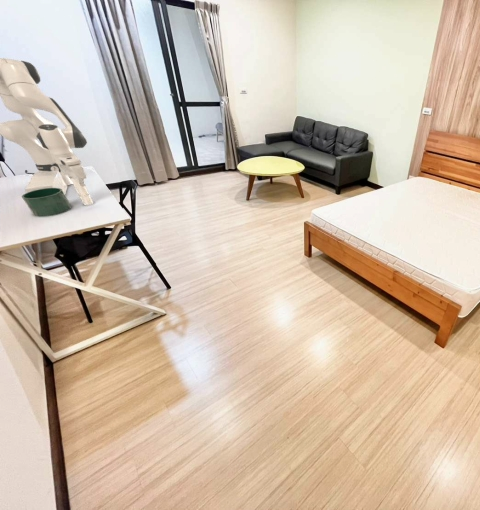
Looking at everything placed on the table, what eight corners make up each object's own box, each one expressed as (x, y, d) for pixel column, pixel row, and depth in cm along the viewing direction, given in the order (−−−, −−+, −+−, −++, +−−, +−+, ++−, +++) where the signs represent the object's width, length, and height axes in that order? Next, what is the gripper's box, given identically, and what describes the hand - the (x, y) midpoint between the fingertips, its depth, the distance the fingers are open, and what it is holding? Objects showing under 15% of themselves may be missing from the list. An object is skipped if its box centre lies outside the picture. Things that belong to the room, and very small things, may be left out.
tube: (88, 205, 153) (74, 179, 144) (82, 204, 153) (68, 179, 145) (95, 202, 156) (82, 177, 148) (89, 201, 157) (76, 176, 148)
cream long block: (45, 189, 169) (35, 172, 163) (67, 186, 174) (58, 170, 168) (37, 207, 148) (24, 189, 142) (62, 203, 153) (51, 185, 147)
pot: (28, 211, 144) (16, 194, 138) (64, 202, 155) (54, 185, 149) (40, 219, 138) (28, 201, 132) (76, 208, 149) (67, 191, 143)
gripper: (49, 157, 142) (63, 182, 150) (66, 163, 134) (80, 189, 142) (63, 154, 147) (77, 179, 155) (81, 160, 139) (94, 186, 147)
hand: (79, 184), depth 148 cm, fingers open, 8 cm apart
